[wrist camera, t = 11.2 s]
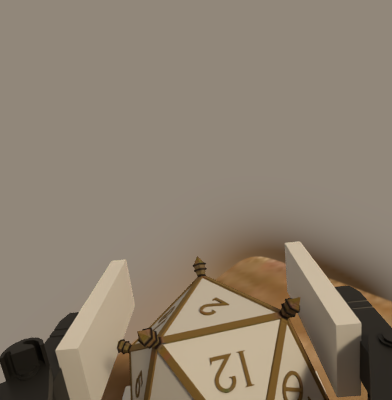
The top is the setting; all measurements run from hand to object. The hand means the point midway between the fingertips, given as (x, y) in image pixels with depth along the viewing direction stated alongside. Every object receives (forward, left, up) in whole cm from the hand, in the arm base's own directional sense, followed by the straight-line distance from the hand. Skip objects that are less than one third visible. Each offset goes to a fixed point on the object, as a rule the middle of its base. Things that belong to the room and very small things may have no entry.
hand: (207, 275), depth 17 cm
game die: (0, -5, -6) cm, 8 cm away
